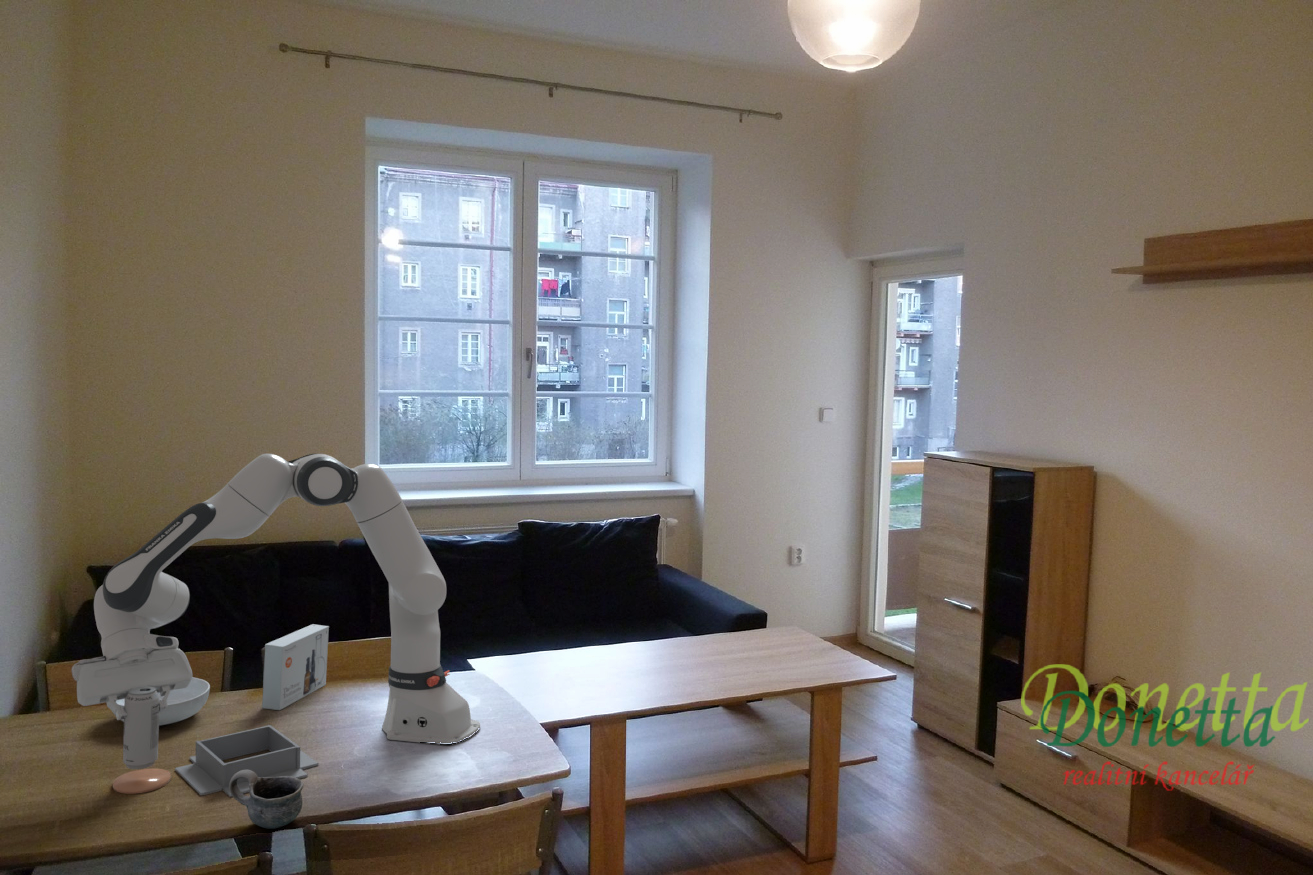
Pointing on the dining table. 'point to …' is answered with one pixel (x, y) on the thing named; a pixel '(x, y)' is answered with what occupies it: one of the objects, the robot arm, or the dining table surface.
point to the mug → (269, 798)
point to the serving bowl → (182, 702)
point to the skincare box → (295, 666)
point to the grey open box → (243, 760)
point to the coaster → (141, 781)
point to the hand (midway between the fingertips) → (143, 714)
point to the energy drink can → (141, 727)
